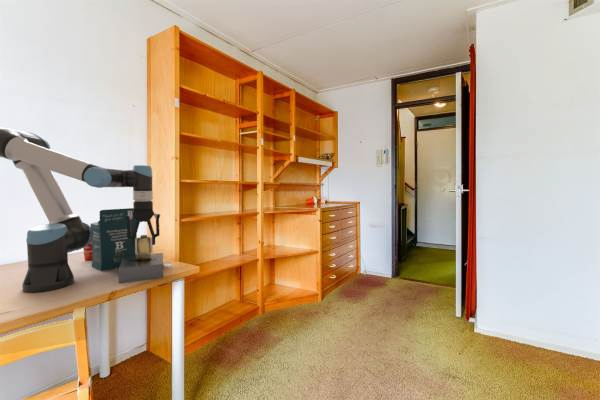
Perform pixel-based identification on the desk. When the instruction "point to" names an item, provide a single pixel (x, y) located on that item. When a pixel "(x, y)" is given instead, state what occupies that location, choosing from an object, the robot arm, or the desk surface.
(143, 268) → the housing
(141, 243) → the tan upright cylinder
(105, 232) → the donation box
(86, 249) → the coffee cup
